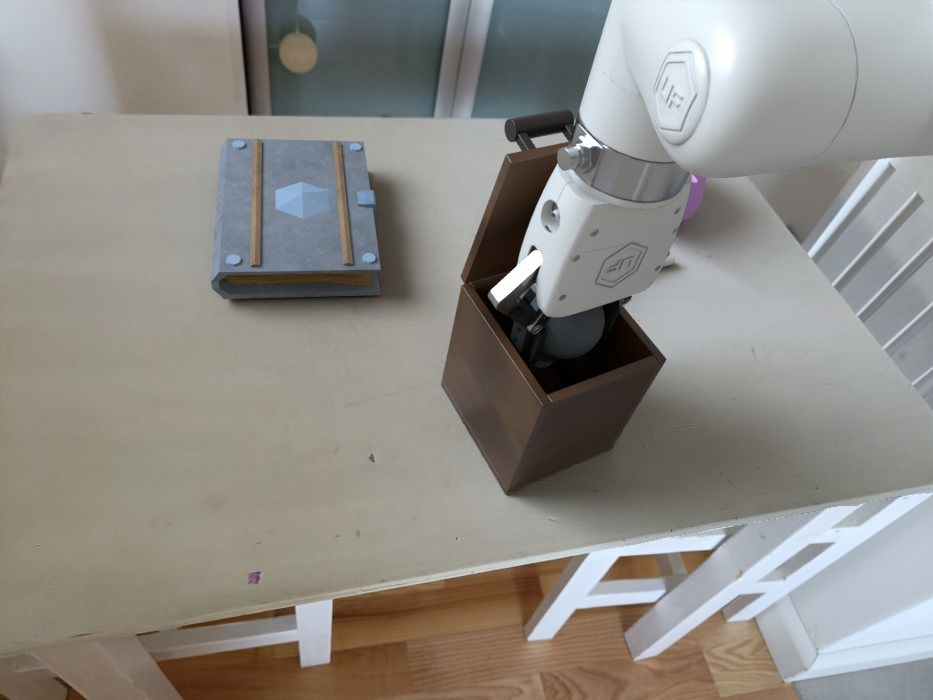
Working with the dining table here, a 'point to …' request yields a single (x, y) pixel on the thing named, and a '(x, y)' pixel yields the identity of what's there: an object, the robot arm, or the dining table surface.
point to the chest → (541, 391)
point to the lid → (516, 194)
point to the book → (294, 220)
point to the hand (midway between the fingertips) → (558, 339)
